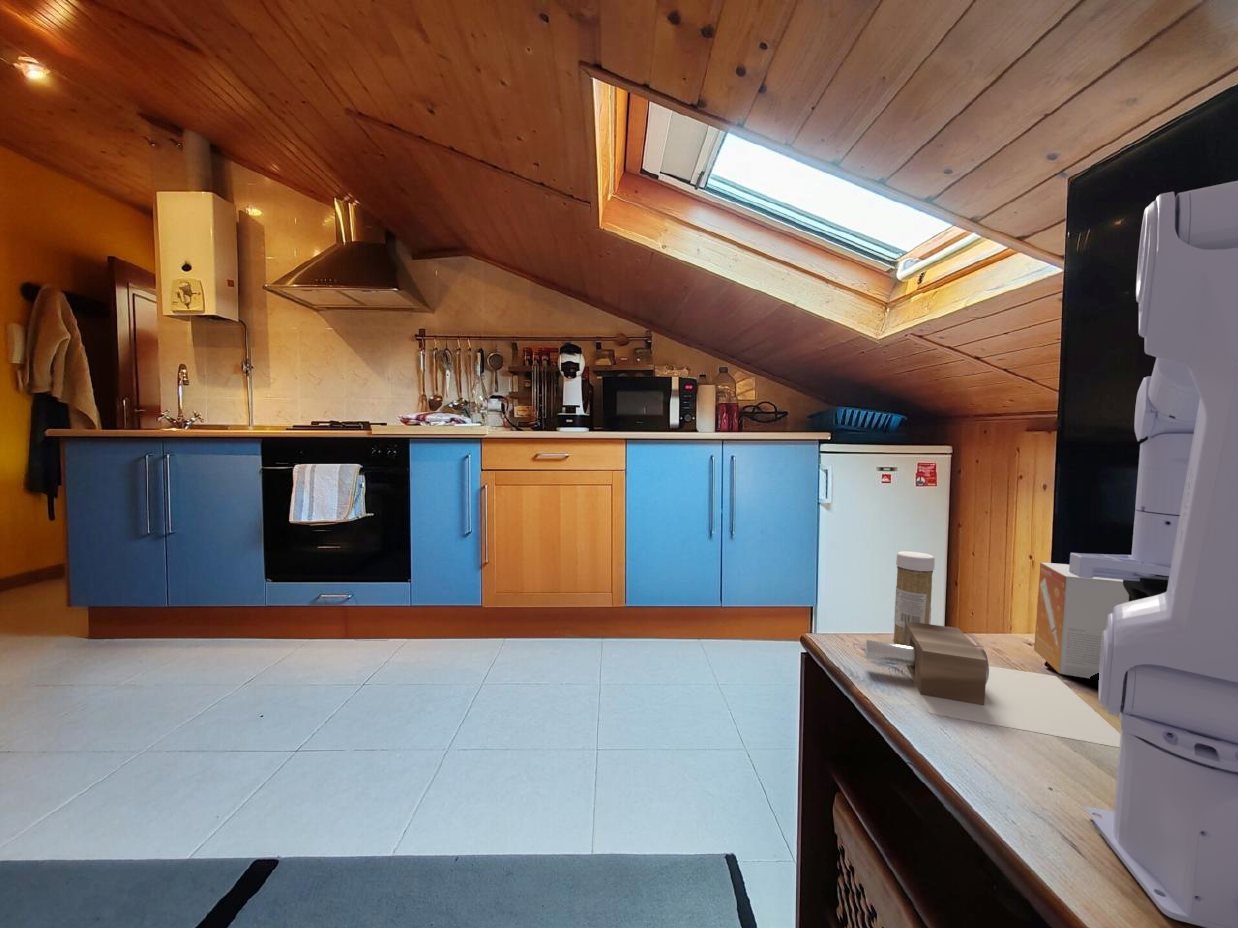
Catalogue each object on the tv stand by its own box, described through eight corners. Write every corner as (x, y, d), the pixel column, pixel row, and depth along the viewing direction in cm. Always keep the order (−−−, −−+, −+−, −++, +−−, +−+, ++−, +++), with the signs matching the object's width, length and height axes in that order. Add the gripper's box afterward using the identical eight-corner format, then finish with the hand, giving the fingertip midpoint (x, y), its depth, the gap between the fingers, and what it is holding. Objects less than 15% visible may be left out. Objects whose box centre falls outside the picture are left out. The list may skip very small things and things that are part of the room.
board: (1138, 757, 47) (1139, 750, 47) (929, 718, 52) (929, 712, 52) (1055, 680, 62) (1055, 675, 62) (899, 657, 67) (899, 652, 67)
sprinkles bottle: (935, 650, 70) (941, 555, 69) (919, 657, 67) (924, 558, 67) (902, 639, 74) (907, 548, 73) (885, 645, 71) (890, 551, 70)
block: (984, 705, 54) (987, 660, 54) (920, 694, 56) (923, 650, 56) (956, 666, 63) (958, 628, 63) (902, 658, 65) (904, 621, 65)
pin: (987, 691, 56) (989, 656, 56) (867, 671, 60) (869, 639, 60) (975, 675, 60) (977, 643, 60) (863, 658, 64) (865, 627, 64)
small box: (1032, 653, 70) (1038, 561, 69) (1090, 662, 68) (1097, 566, 67) (1058, 678, 62) (1065, 575, 62) (1124, 689, 60) (1132, 582, 59)
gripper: (1254, 514, 46) (1241, 660, 46) (1057, 503, 50) (1048, 635, 51) (1332, 526, 39) (1315, 696, 40) (1097, 511, 44) (1085, 664, 44)
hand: (1168, 664), depth 45 cm, fingers closed
